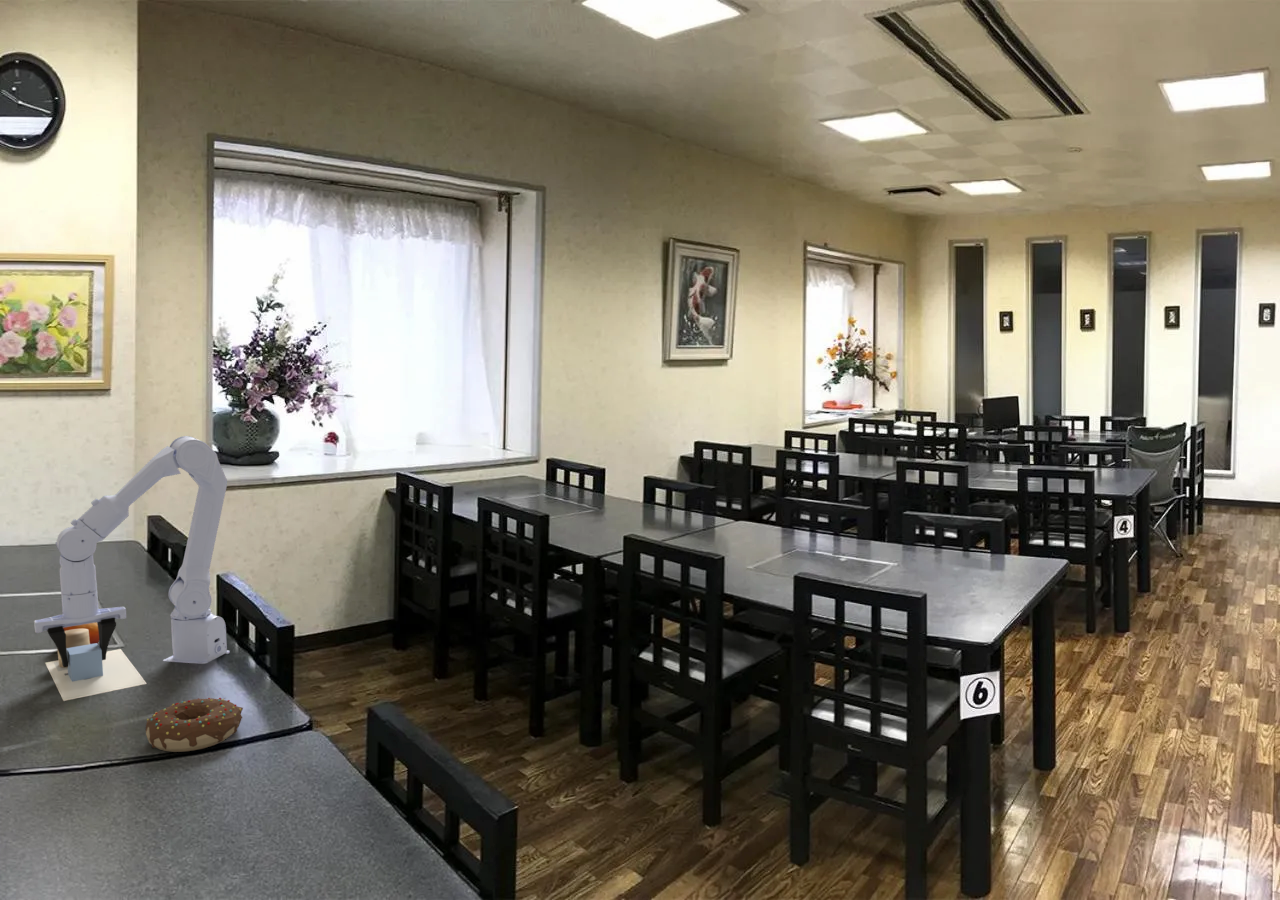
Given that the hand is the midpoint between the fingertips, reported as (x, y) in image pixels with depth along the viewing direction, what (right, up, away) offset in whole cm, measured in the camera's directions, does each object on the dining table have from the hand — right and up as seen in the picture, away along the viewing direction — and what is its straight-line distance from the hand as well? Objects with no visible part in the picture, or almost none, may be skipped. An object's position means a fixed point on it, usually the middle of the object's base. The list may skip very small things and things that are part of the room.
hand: (84, 662), depth 172 cm
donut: (+34, -6, -26) cm, 43 cm away
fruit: (-11, -2, +16) cm, 19 cm away
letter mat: (+1, -3, +1) cm, 3 cm away
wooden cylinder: (-6, -2, +6) cm, 9 cm away
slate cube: (0, -2, 0) cm, 2 cm away
